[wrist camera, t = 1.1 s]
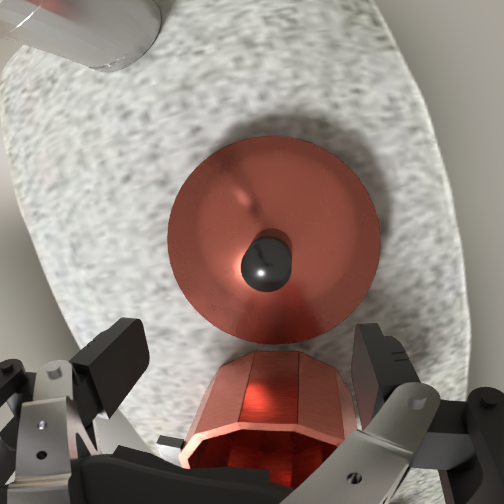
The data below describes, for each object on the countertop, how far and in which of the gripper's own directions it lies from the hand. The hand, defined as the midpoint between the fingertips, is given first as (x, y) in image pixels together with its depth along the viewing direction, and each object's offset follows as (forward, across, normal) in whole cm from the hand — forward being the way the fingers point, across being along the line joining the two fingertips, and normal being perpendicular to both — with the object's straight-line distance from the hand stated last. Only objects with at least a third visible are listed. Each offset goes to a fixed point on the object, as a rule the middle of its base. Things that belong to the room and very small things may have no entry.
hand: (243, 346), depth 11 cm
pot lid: (+17, 0, 0) cm, 17 cm away
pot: (+17, 0, +19) cm, 25 cm away
